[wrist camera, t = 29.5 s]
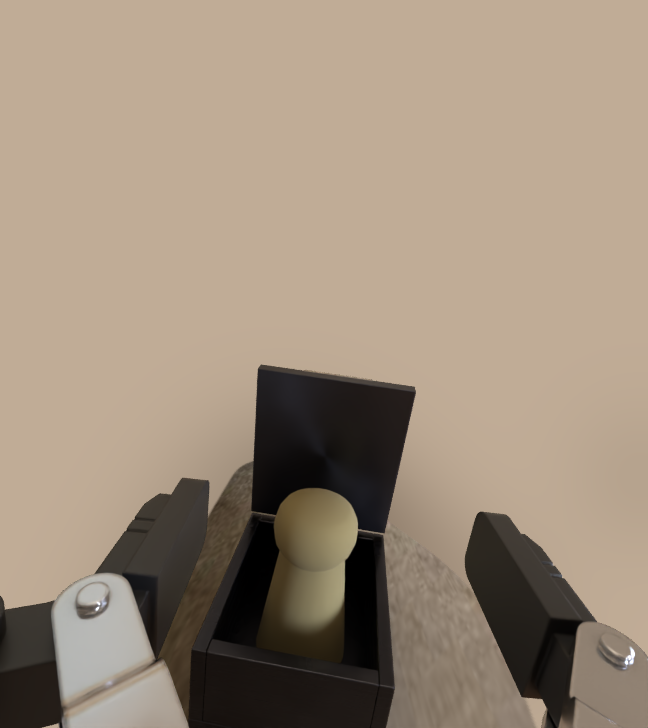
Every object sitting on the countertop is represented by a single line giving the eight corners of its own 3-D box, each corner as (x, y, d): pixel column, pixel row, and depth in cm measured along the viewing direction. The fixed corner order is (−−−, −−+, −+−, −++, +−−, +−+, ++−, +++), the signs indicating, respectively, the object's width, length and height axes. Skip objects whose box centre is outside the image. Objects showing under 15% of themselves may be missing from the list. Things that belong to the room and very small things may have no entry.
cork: (239, 666, 25) (252, 517, 22) (276, 592, 30) (290, 466, 27) (331, 704, 23) (358, 549, 20) (352, 619, 29) (375, 489, 26)
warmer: (377, 768, 21) (395, 688, 20) (187, 729, 22) (191, 649, 20) (372, 593, 32) (383, 534, 31) (247, 571, 33) (252, 512, 31)
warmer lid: (416, 391, 26) (409, 362, 30) (257, 368, 26) (275, 343, 31) (384, 533, 30) (382, 488, 35) (251, 511, 31) (267, 470, 36)
